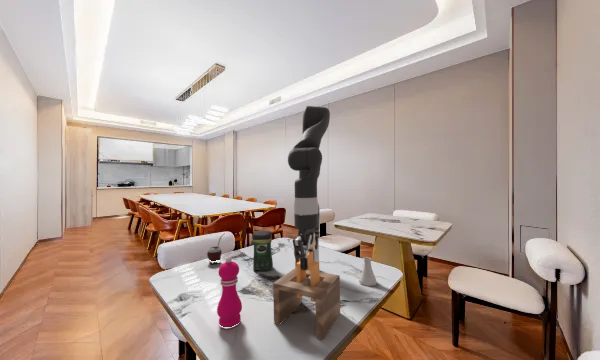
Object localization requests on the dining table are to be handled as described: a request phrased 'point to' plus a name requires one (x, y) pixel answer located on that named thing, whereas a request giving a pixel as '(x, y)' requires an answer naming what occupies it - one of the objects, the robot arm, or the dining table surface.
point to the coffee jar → (262, 250)
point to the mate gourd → (214, 252)
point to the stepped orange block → (314, 272)
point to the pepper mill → (229, 295)
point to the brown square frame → (323, 293)
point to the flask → (367, 274)
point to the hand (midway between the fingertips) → (307, 266)
